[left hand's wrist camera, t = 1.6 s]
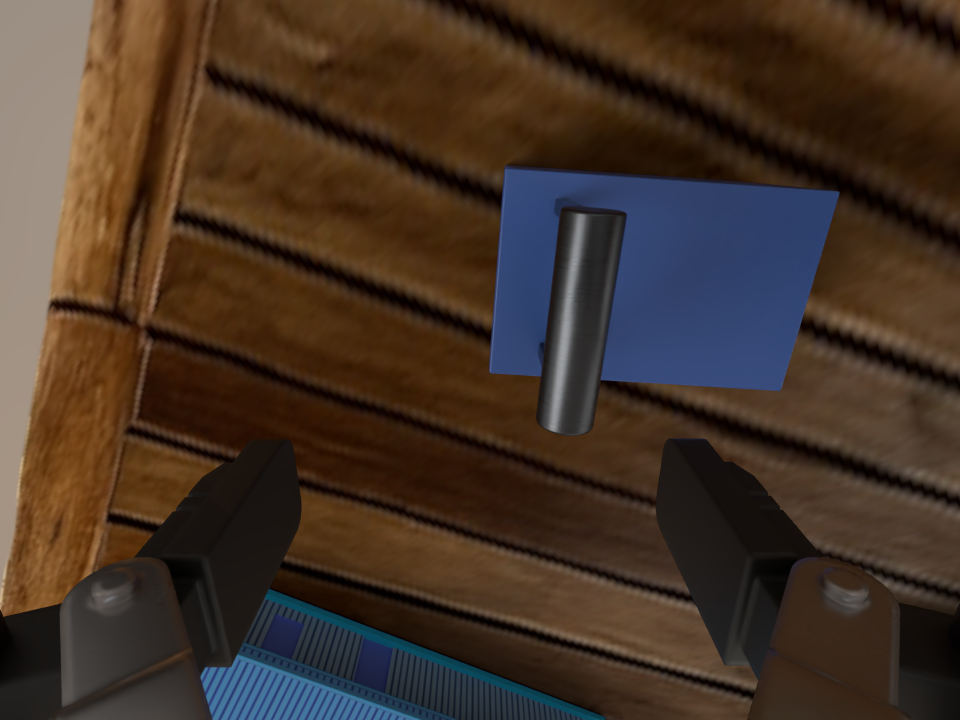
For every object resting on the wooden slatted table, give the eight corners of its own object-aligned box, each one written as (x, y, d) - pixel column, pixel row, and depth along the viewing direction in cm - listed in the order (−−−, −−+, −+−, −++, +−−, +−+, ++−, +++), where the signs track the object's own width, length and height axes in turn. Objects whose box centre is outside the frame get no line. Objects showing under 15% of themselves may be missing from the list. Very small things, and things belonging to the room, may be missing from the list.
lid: (489, 366, 28) (492, 455, 19) (504, 167, 24) (517, 173, 16) (770, 383, 28) (892, 478, 20) (826, 190, 25) (1003, 207, 16)
